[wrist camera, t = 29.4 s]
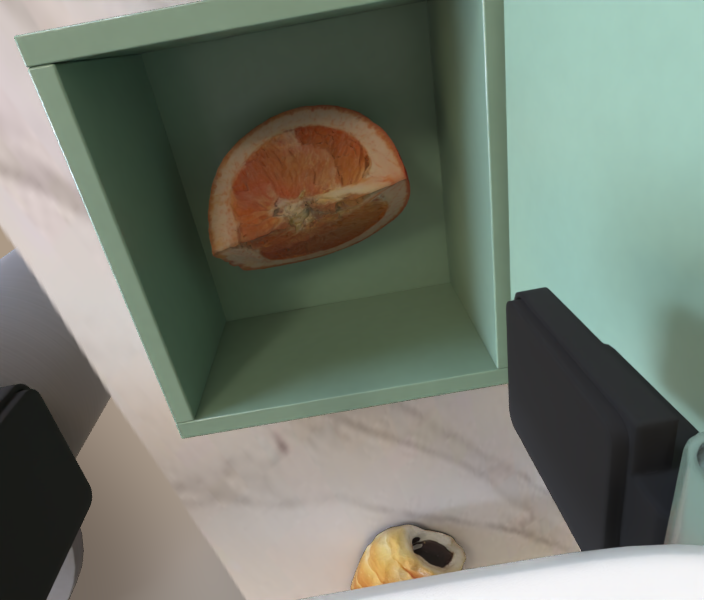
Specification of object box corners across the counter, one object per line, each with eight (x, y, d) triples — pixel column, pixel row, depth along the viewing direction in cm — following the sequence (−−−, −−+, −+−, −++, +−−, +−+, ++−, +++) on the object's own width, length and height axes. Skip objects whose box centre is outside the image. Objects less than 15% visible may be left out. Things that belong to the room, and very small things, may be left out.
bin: (218, 328, 28) (181, 439, 21) (121, 35, 22) (12, 35, 14) (462, 286, 28) (517, 382, 20) (439, -24, 21) (510, -58, 14)
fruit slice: (257, 271, 26) (244, 319, 22) (192, 144, 23) (162, 170, 19) (413, 212, 25) (433, 249, 21) (367, 72, 22) (379, 82, 18)
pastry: (401, 609, 41) (408, 661, 38) (326, 587, 39) (326, 639, 36) (468, 536, 38) (482, 586, 34) (389, 508, 36) (396, 557, 32)
